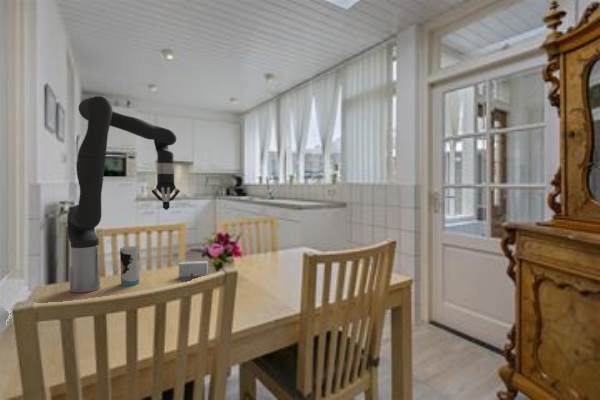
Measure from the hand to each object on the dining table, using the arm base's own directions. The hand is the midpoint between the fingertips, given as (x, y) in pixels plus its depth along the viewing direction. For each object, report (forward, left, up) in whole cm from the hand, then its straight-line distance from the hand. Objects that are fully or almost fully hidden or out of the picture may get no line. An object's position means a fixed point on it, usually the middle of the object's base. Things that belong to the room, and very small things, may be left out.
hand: (166, 209), depth 158 cm
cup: (-13, -19, -29) cm, 37 cm away
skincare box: (+6, -14, -26) cm, 30 cm away
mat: (+13, -14, -29) cm, 35 cm away
